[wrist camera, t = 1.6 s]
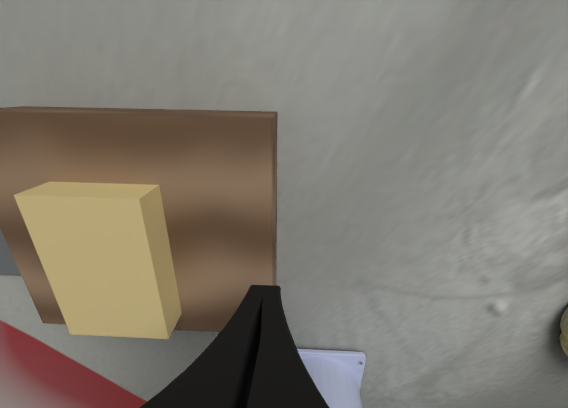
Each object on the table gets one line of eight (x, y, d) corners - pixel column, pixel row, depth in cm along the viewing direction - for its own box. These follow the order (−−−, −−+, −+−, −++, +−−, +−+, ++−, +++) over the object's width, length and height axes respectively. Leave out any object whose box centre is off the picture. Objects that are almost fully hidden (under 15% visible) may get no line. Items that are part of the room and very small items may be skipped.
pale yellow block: (181, 313, 18) (168, 339, 16) (93, 309, 18) (70, 334, 16) (159, 184, 14) (138, 199, 12) (49, 181, 14) (13, 195, 13)
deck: (276, 292, 22) (272, 334, 18) (84, 284, 22) (43, 323, 19) (277, 111, 16) (271, 118, 13) (23, 106, 17) (-53, 111, 13)
